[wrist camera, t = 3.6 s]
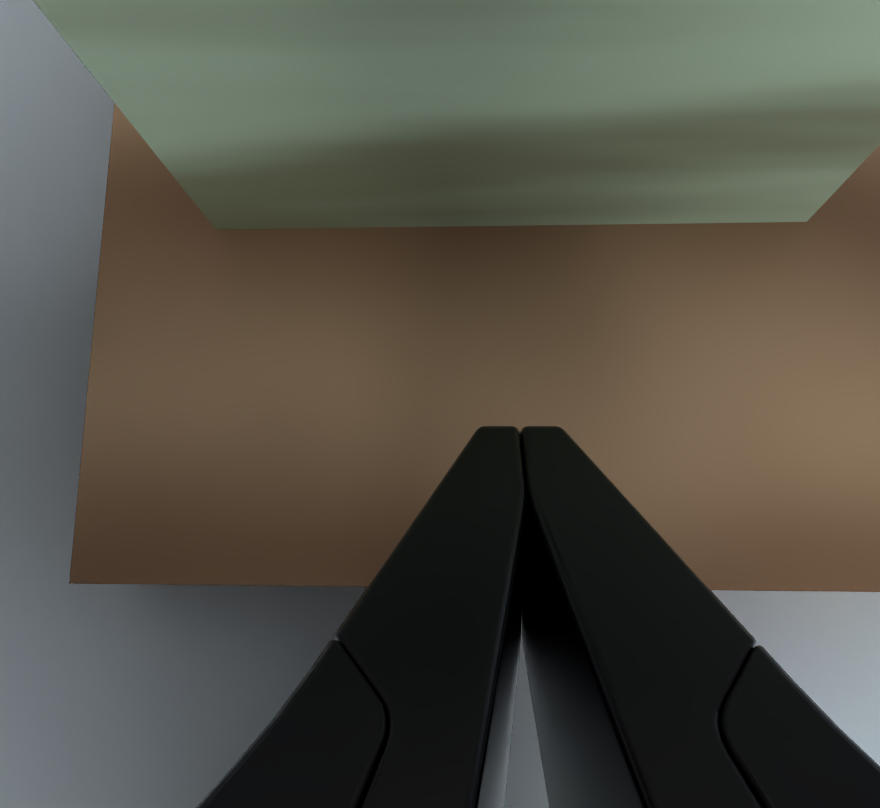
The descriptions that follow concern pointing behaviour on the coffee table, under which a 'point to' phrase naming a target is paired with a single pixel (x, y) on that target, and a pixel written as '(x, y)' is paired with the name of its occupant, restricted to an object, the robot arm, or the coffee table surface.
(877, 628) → the coffee table surface
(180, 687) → the coffee table surface
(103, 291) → the tan square tile
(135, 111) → the block
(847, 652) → the coffee table surface
